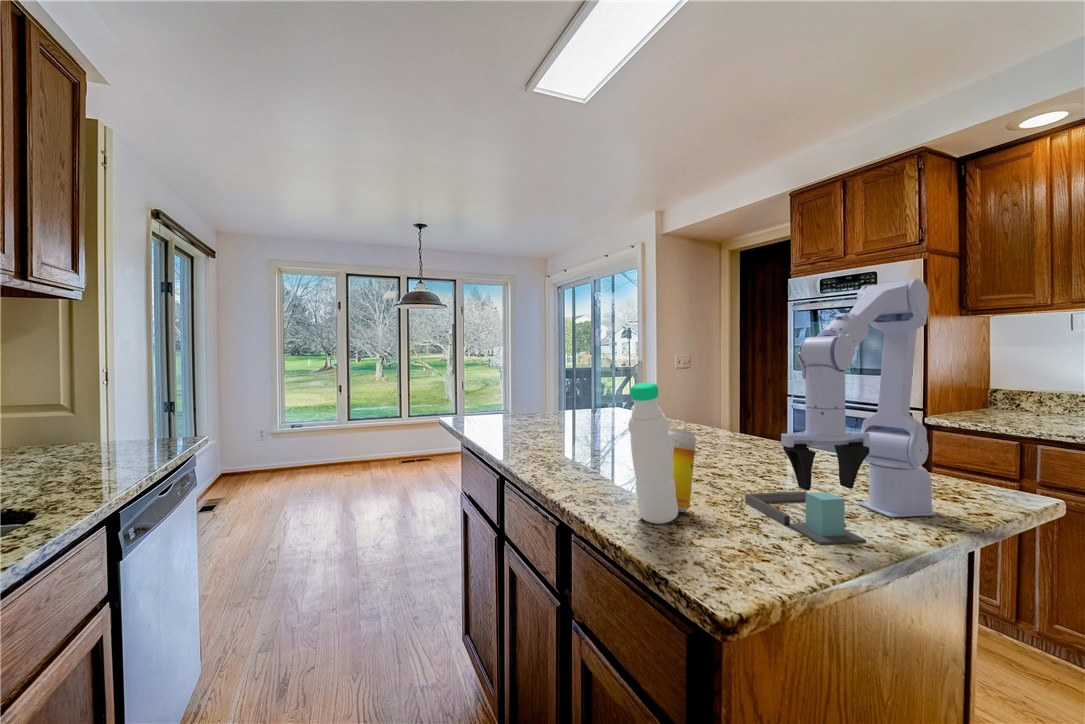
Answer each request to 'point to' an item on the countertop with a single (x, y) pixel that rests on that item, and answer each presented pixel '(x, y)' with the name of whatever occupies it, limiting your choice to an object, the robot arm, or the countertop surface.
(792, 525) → the rubber pad
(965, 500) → the countertop surface
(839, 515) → the teal block
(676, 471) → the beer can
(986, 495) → the countertop surface
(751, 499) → the outer rail
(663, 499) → the water bottle
